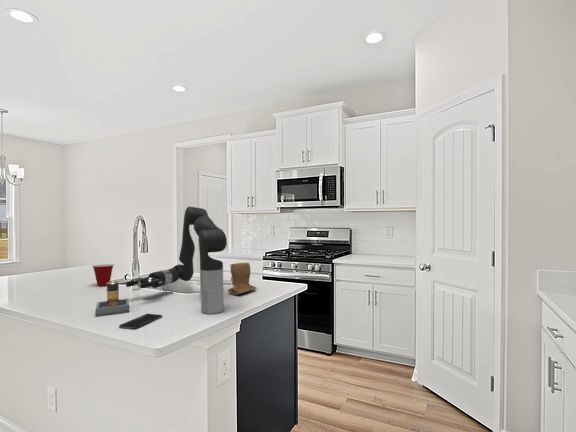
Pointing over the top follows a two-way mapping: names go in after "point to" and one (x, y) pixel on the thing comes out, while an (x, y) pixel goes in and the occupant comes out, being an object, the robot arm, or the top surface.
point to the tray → (112, 308)
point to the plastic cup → (103, 274)
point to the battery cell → (112, 294)
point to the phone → (140, 321)
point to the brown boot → (240, 278)
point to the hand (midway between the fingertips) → (133, 285)
